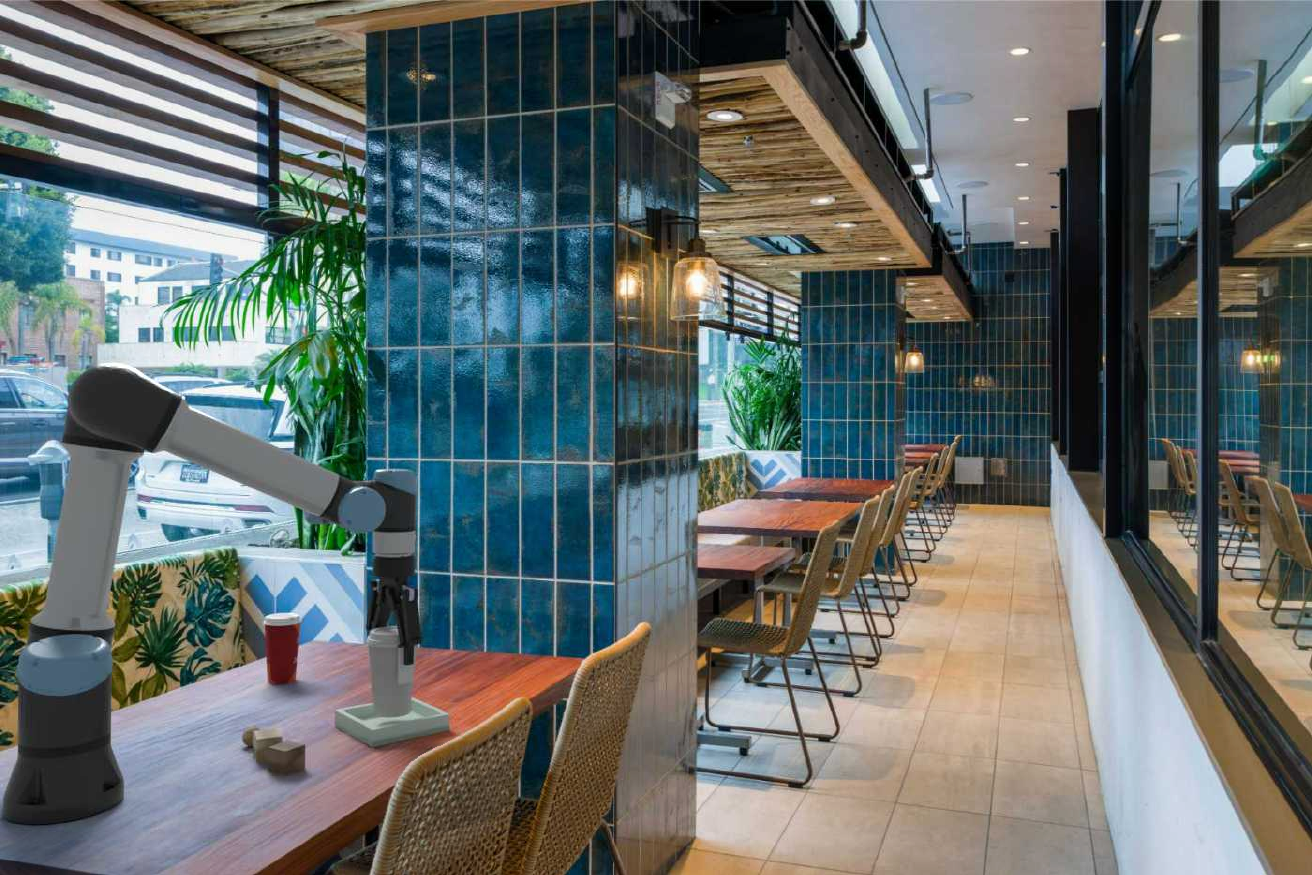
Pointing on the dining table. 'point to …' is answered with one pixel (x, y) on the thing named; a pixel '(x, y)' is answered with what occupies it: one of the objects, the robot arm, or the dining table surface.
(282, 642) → the paper cup
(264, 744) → the beech block
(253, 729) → the cork ball
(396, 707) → the coffee cup
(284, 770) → the walnut block
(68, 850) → the dining table surface
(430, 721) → the tray
